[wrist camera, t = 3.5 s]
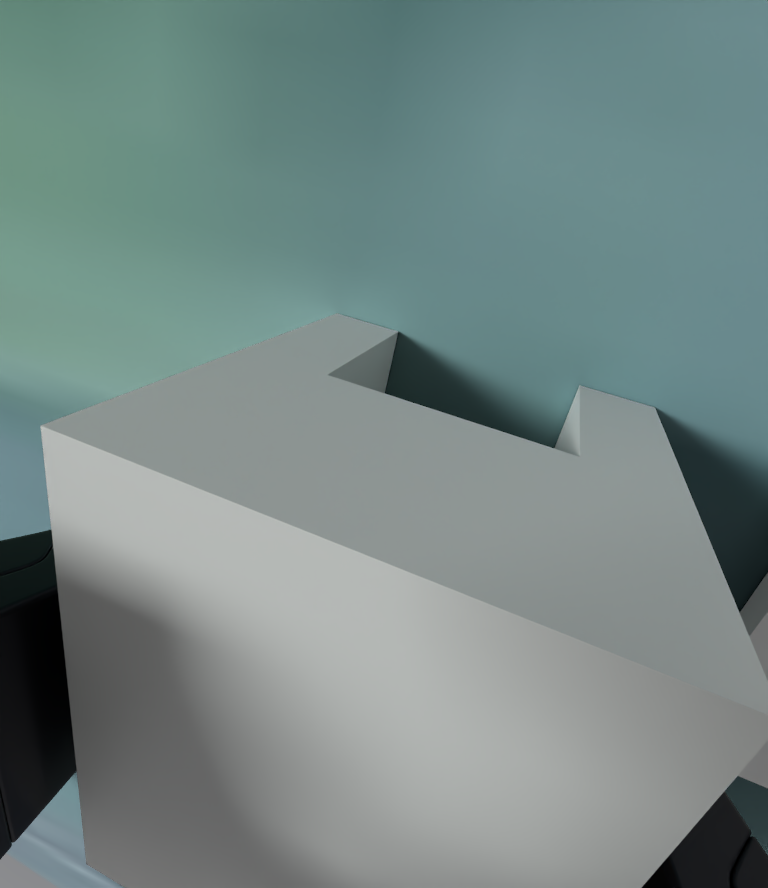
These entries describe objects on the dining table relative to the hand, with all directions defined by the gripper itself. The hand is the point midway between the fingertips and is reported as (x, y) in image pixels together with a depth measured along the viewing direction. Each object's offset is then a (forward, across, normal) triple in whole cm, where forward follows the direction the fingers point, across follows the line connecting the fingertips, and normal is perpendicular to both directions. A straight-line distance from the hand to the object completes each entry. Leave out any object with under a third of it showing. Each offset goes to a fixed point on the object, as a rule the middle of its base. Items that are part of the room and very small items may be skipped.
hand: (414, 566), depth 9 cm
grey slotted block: (+2, 0, 0) cm, 2 cm away
